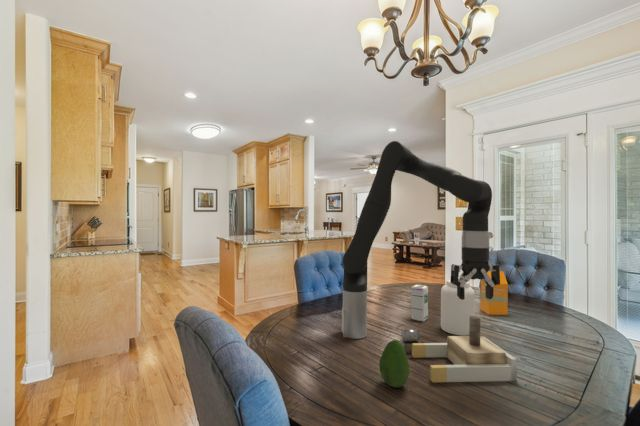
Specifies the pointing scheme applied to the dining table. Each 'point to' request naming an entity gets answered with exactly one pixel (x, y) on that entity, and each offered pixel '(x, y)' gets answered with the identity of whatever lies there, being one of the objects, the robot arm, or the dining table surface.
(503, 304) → the orange juice
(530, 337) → the dining table surface
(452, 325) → the white plastic bottle
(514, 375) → the frame
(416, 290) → the syrup box
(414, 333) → the drum
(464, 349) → the box with grey peg
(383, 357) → the avocado
